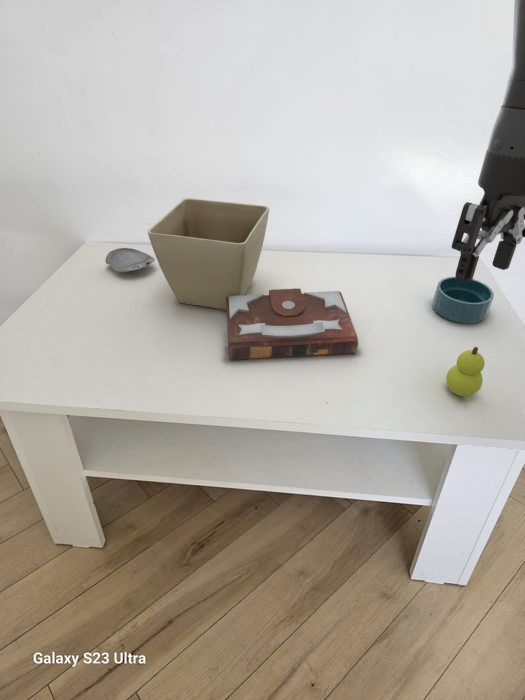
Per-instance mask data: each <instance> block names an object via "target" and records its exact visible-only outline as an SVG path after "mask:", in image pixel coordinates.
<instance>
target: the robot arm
mask: <svg viewBox="0 0 525 700" xmlns="http://www.w3.org/2000/svg"><path fill="white" fill-rule="evenodd" d="M512 31H513V32H512V61H511V62H512V63H511V70H510V73H509V77H508V79H507V82H506V86H505V90H504V94H503V98H502V101H501V106H500V108H499V111H498V114H497V116H496V118H495V120H494V123H493V126H492V128H491V132H490V136H489V140H488V143H487V146H486V151H485V154H484V159H483V160H482V161H483V162H482V165H481V169H480V173H479V176H478V180H477V184H478V186H479V187H480V189H482V191H483V196H482V198H481V200H480V202H479V203H473V202H469V201H467V202H465V203H464V204H463V207H462V209H461V212H460V216H459V219H458V223H457V226H456V230H455V233H454V235H453V241H452V243H451V249H452V250H455V251H457V252H460V256H459V259H458V263H457V266H456V270H455V275H454V277H456V278H457V279H459V280H462V281H464V282H469V281H471V280H472V279H474V275H475V273H476V270H477V265H478V262H479V258H480V255H481V253H482V252H483V250H484V249H485V247H486V246H487V244H491V243H493V242H494V240H495V239H496V238H497V236H498V235H500V239H501V240H499V241H498V245H497V247H496V250H495V254H494V257H493V260H492V266H493V267H494V268H496V269H499V270H501V271H505V270H508V269H509V268H510V265H511V263H512V259H513V257H514V254H515V251H516V248H517V245H520V244H521V242H522V241H523V238H525V0H514V3H513V30H512ZM465 234H466V236H465V237H464V235H465ZM463 237H464V239H463ZM477 240H478V242H477Z"/></svg>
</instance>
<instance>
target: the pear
mask: <svg viewBox="0 0 525 700" xmlns="http://www.w3.org/2000/svg"><path fill="white" fill-rule="evenodd" d="M478 351H479V347H478V346H474V347H472V350H471V349H470V350H469V349H468V350H464V351H462V352H461V353H459V355H458V357H457V358H456V364H454V365H452V366H451V368H449V369H448V371H447V373H446V377H445V379H446V385H447V387H448V389H449V390H450V391H451V392H452V393H453V394H455V395H457V396H460V397H470V396H473V395H475V394H476V393H478V392H479V391H480V389H481V388H482V385H483V381H484V380H483V379H484V378H483V375H482V372H483V370H484V369H485V359H484V356H483V355H482V354H481V353H480V352H478Z"/></svg>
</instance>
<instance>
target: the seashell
mask: <svg viewBox="0 0 525 700" xmlns="http://www.w3.org/2000/svg"><path fill="white" fill-rule="evenodd" d="M104 261H105V264H106V265H109V266H111V268H112V270H114V271H116V272H119V273H130V272H132V271H137V270H141V269H145V268H147V267H149V266H150V265H151V264H153V263H155V261H156V259H155V258H154V257H152V256H151V255H150V254H148V253H146V252H143V251H141V250H139V249H135V248H130V247H120V248H115V249H113V250H110V251H109V252H108V253H107V255H106V257H105V259H104Z"/></svg>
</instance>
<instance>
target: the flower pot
mask: <svg viewBox="0 0 525 700" xmlns="http://www.w3.org/2000/svg"><path fill="white" fill-rule="evenodd" d="M269 213H270V207H269V206H268V205H259V204H252V203H240V202H232V201H223V200H211V199H201V198H192V197H186V198H183V199H181V200H180V201H179V202H178V203H177V204H175V206H174V207H173V208H172V209H170V210H168V212H167V213H166V214H165V215H163V216H162V217H161V218H160V219H159V220H158V221H157V222H156V223H154V224H153V225H152V226H151V227H150V228H149V229H147V235H148V239H149V241H150V245H151V247H152V250H153V253H154V255H155V258H156V261H157V262H158V265H159V267H160V269H161V272H162V274H163V275H164V278H165V280H166V283H168V285H169V287H170V289H171V291H172V292H173V295H174V296H175V298H176V299H177V300H178V302H179V303H181V304H187V305H192V306H200V307H205V308H212V309H218V310H224V311H227V304H226V297H229V296H238V295H246V294H247V291H249V288H250V286H251V285H252V282H253V280H254V277H255V275H256V271H257V268H258V265H259V262H260V261H259V260H260V257H261V253H262V249H263V246H264V241H265V236H266V231H267V225H268V219H269Z"/></svg>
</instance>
